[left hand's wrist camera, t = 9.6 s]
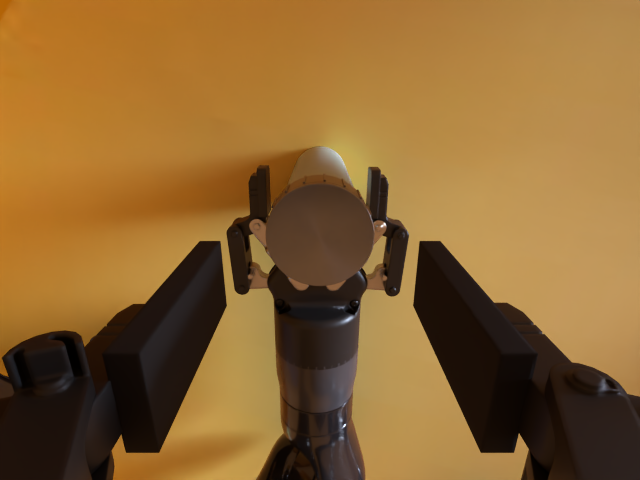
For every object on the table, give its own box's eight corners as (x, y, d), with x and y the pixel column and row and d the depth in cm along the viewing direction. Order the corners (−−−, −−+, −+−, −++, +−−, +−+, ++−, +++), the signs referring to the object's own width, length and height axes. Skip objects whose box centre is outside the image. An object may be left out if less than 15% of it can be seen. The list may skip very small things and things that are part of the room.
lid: (255, 189, 19) (247, 200, 17) (355, 160, 19) (360, 167, 17) (287, 278, 21) (284, 298, 19) (380, 253, 21) (387, 271, 19)
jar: (287, 155, 34) (258, 202, 18) (337, 139, 34) (354, 174, 17) (303, 203, 36) (288, 288, 19) (351, 189, 35) (378, 264, 19)
